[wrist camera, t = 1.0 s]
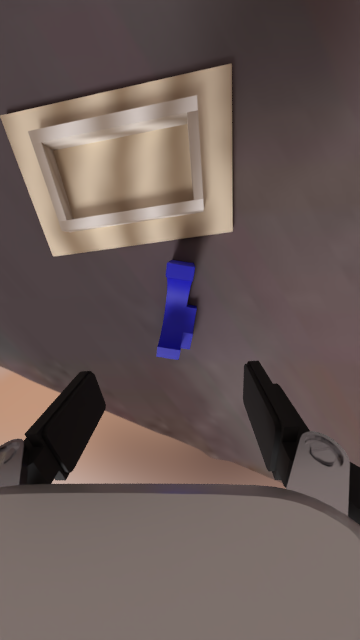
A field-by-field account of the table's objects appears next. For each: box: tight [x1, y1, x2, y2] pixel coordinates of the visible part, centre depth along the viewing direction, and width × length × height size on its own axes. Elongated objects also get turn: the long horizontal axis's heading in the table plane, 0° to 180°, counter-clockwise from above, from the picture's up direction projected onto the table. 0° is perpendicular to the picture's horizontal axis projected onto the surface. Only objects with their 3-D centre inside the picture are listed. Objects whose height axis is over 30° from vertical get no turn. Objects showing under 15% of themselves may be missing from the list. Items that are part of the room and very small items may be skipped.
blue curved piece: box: [157, 260, 197, 360], centre depth 23 cm, size 12×4×6 cm, turn 171°
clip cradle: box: [0, 63, 233, 256], centre depth 19 cm, size 24×14×2 cm, turn 97°
